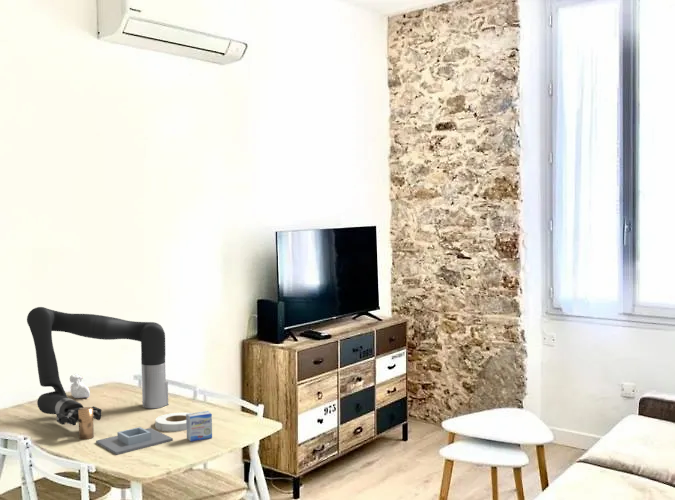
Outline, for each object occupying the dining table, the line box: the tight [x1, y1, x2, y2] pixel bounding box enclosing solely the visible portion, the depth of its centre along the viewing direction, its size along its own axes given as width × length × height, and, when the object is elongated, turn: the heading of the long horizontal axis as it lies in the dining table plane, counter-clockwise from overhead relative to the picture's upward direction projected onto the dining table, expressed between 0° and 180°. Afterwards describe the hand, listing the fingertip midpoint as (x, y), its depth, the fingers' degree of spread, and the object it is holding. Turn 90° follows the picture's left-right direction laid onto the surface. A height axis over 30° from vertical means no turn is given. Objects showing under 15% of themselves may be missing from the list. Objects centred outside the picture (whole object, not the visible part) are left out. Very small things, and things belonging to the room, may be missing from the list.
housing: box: [95, 426, 174, 456], centre depth 237 cm, size 20×16×3 cm
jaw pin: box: [78, 406, 95, 441], centre depth 242 cm, size 5×5×10 cm
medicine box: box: [186, 410, 213, 443], centre depth 240 cm, size 8×4×9 cm, turn 117°
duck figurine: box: [69, 373, 91, 399], centre depth 294 cm, size 12×8×11 cm
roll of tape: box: [154, 412, 192, 432], centre depth 255 cm, size 16×15×3 cm
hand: (87, 419), depth 241 cm, fingers open, 8 cm apart
